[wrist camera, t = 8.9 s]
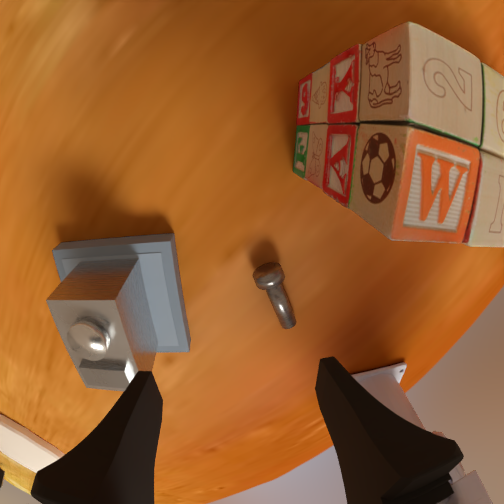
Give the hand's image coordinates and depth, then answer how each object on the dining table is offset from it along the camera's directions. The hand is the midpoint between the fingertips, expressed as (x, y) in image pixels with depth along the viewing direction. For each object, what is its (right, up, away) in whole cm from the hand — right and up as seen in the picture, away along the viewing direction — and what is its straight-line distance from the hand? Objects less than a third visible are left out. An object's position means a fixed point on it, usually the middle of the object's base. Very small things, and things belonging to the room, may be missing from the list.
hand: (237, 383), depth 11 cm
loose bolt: (+3, +2, +10) cm, 11 cm away
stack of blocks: (+14, +13, +7) cm, 20 cm away
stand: (-9, +2, +9) cm, 13 cm away
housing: (-9, +2, +7) cm, 11 cm away
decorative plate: (-43, -32, +21) cm, 58 cm away
